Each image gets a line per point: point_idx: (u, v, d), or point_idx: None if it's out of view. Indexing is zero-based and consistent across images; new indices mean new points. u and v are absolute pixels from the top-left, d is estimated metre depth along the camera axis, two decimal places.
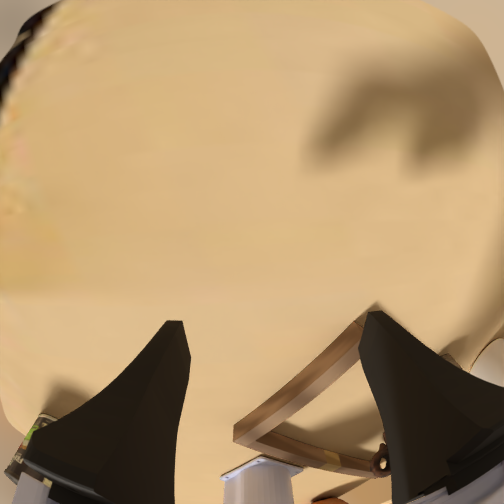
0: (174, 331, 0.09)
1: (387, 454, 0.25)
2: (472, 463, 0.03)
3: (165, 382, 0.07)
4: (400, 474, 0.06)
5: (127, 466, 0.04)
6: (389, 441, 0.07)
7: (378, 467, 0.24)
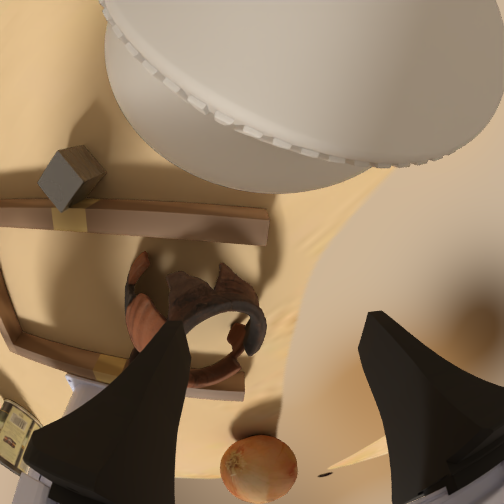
0: (174, 331, 0.09)
1: None
2: (472, 463, 0.03)
3: (165, 382, 0.07)
4: (400, 474, 0.06)
5: (127, 466, 0.04)
6: (389, 441, 0.07)
7: None
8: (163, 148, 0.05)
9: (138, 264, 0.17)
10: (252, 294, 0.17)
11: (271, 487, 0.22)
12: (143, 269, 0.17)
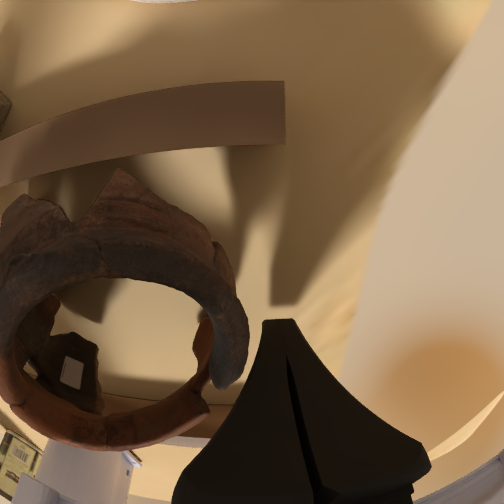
0: (282, 330, 0.09)
1: None
2: None
3: None
4: None
5: None
6: None
7: None
8: None
9: None
10: (201, 240, 0.07)
11: None
12: None
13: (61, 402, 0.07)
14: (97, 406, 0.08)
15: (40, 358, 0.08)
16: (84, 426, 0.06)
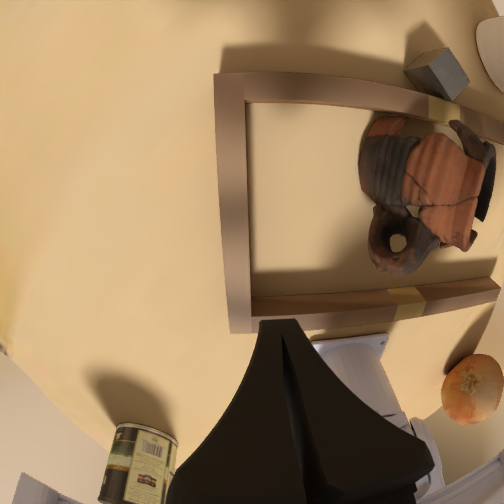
0: (279, 330, 0.09)
1: (390, 218, 0.15)
2: None
3: None
4: None
5: None
6: None
7: (382, 251, 0.15)
8: None
9: (395, 120, 0.14)
10: None
11: (499, 391, 0.19)
12: (403, 124, 0.14)
13: None
14: None
15: None
16: None
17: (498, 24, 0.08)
